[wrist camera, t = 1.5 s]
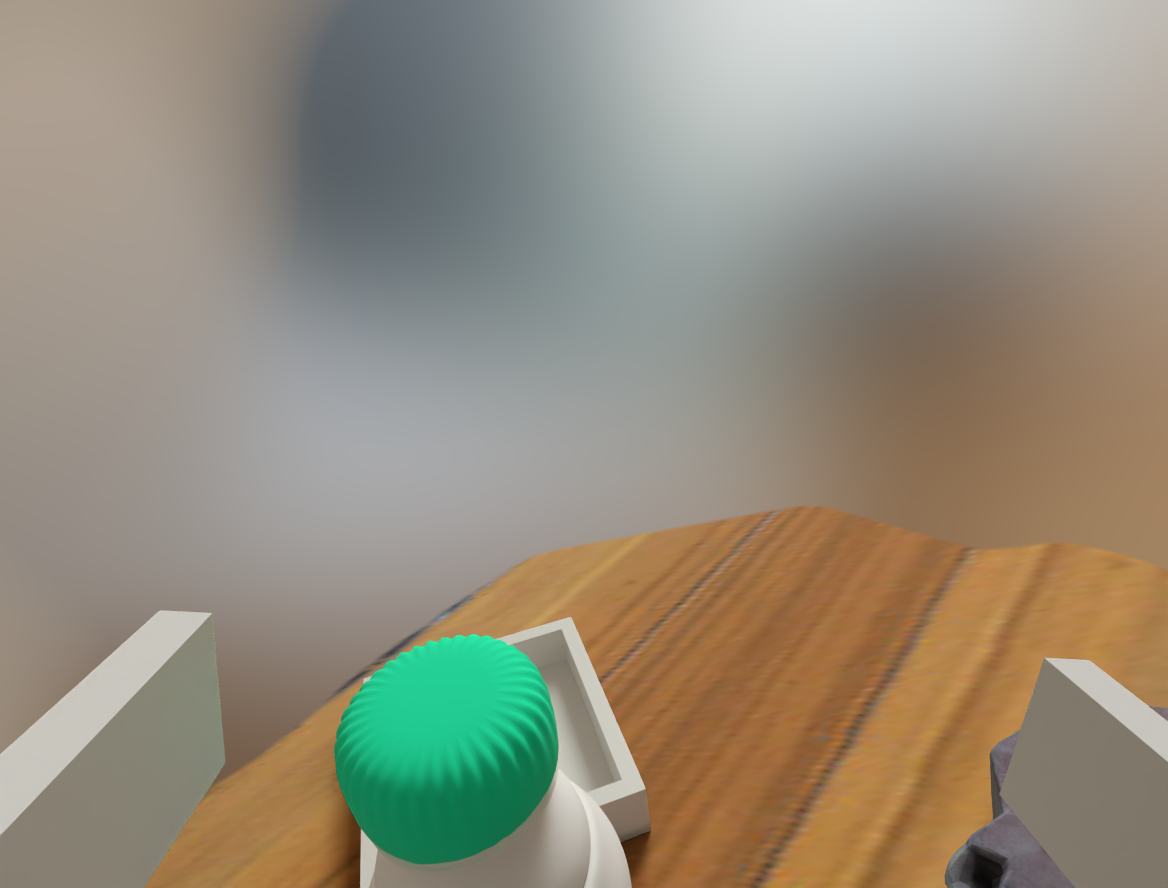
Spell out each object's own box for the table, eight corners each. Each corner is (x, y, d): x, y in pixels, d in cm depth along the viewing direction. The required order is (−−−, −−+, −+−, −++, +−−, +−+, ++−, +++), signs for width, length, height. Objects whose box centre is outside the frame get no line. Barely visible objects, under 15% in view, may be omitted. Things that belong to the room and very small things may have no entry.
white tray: (577, 652, 50) (570, 616, 48) (651, 830, 36) (645, 788, 35) (376, 714, 47) (363, 678, 45) (378, 934, 33) (360, 893, 32)
